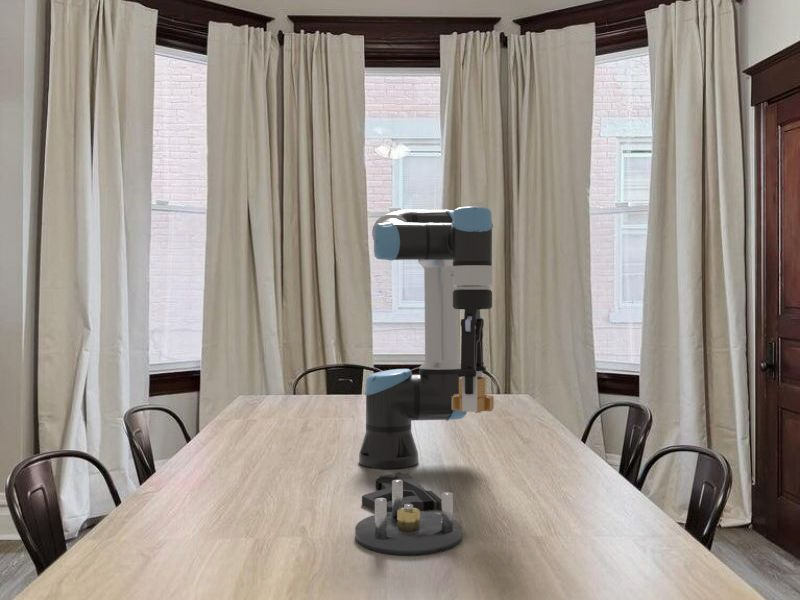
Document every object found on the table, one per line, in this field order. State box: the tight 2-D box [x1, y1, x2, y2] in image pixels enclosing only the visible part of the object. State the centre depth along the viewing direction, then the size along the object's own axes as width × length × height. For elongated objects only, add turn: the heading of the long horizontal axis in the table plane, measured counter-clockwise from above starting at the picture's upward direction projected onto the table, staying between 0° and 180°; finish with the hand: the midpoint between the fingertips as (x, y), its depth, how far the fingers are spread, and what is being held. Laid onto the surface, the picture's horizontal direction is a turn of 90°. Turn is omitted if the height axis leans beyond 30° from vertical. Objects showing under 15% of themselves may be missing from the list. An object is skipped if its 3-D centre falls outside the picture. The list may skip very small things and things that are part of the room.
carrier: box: [354, 480, 463, 557], centre depth 126 cm, size 19×19×8 cm
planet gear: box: [452, 376, 495, 414], centre depth 135 cm, size 8×8×6 cm
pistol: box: [361, 472, 442, 512], centre depth 150 cm, size 2×26×15 cm
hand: (472, 407), depth 135 cm, fingers closed on planet gear, 8 cm apart
